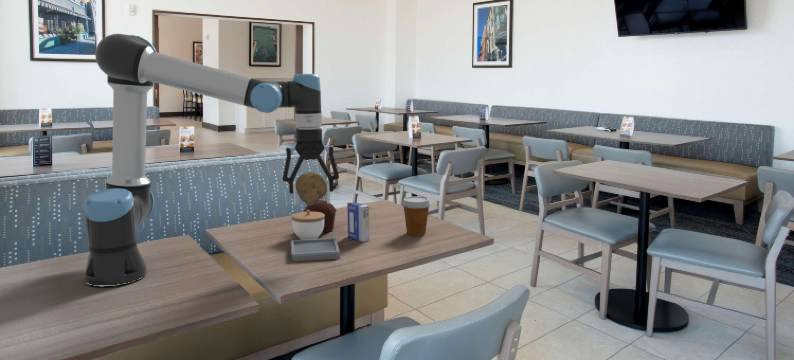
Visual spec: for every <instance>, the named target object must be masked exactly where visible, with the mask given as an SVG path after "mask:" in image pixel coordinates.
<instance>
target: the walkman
mask: <svg viewBox="0 0 794 360" xmlns="http://www.w3.org/2000/svg"><path fill="white" fill-rule="evenodd" d="M346 205H347V206H346V207H347V238H350V239H353V240H356V241H359V242H361V243H362V242H363V243H364V242H367V241H368V242H369V241H370V213H369V210H370V208H369V205H367V204H363V203H360V202H356V201H350V202H347V204H346Z"/></svg>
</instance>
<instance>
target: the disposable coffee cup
mask: <svg viewBox="0 0 794 360" xmlns="http://www.w3.org/2000/svg"><path fill="white" fill-rule="evenodd" d="M401 204H402V207H403V212H404V220H405V228H406V234H407V235H408V236H412V237H419V236H424V235H426V230H427V223H428V216H429V208H430V205H431V202H430V199H429V198H428V197H426V196H419V195H417V196H416V195H414V196H407V197H404V198H403V201H402V202H401Z"/></svg>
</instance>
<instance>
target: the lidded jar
mask: <svg viewBox="0 0 794 360" xmlns="http://www.w3.org/2000/svg"><path fill="white" fill-rule="evenodd" d="M324 218H325V215H324V214H323V213H320V212H310V210H307V212H304V211H301V212H296V213H293V214H292V215H291V222H292V223H291V224H292V229H293V231H294V234H295V235H296V236H297V237H298V238H299V240H306V239H319V237H320V236H321V234H323V233H322V232H323V229H324Z"/></svg>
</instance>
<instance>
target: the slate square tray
mask: <svg viewBox="0 0 794 360" xmlns="http://www.w3.org/2000/svg"><path fill="white" fill-rule="evenodd" d="M290 245H291V247H290V248H291V249H290V251H291V262H303V261H306V262H307V261H320V260H322V261H323V260H335V259H341V253H340V248H339V245H338V241H337V239H336V237H327V238H324V237H323V238H317V239H306V240H301V239H292V240H290Z"/></svg>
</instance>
